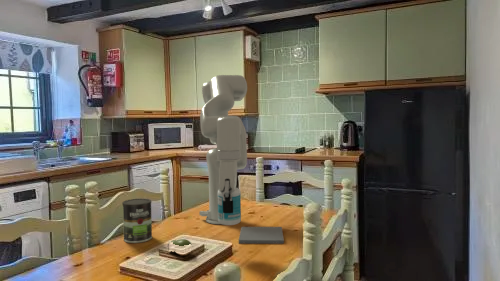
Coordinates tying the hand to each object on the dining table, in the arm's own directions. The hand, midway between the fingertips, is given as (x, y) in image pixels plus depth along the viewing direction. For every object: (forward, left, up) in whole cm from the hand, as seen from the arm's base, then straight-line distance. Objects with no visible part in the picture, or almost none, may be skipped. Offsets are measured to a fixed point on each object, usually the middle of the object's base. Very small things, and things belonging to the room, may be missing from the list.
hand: (229, 209), depth 120 cm
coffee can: (-36, +15, -15) cm, 42 cm away
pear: (-17, +1, -15) cm, 23 cm away
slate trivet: (+10, +18, -15) cm, 26 cm away
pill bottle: (0, 0, -5) cm, 5 cm away
